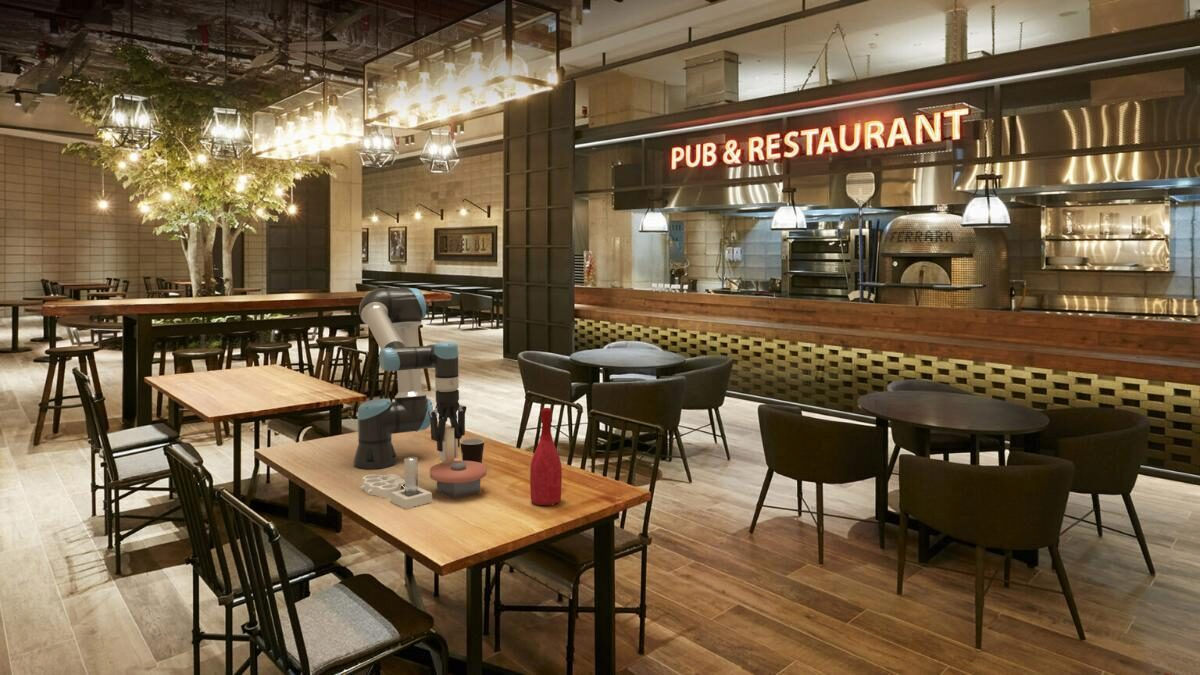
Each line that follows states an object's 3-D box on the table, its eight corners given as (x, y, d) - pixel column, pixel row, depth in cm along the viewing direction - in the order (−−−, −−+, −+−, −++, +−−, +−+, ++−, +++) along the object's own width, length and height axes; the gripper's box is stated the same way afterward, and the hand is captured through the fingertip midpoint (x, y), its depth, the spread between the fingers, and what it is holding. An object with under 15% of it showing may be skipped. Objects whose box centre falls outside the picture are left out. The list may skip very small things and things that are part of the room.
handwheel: (445, 486, 220) (445, 442, 219) (420, 472, 234) (419, 430, 232) (496, 476, 231) (496, 433, 230) (469, 463, 245) (469, 423, 244)
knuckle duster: (417, 492, 234) (374, 502, 224) (393, 479, 247) (351, 487, 237) (417, 482, 233) (374, 492, 224) (393, 470, 247) (351, 478, 237)
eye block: (391, 501, 223) (390, 492, 223) (416, 495, 230) (416, 486, 229) (406, 509, 217) (405, 499, 217) (431, 502, 223) (431, 493, 223)
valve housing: (436, 492, 233) (436, 475, 233) (462, 485, 240) (462, 468, 240) (454, 499, 226) (454, 482, 226) (480, 492, 233) (480, 475, 233)
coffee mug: (479, 472, 255) (479, 445, 254) (456, 470, 257) (456, 443, 256) (490, 463, 266) (490, 437, 265) (468, 462, 268) (468, 435, 267)
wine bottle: (549, 509, 219) (549, 412, 216) (523, 503, 224) (524, 408, 221) (567, 500, 227) (568, 407, 224) (542, 494, 232) (543, 403, 229)
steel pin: (402, 502, 223) (401, 458, 222) (413, 499, 226) (413, 455, 225) (409, 505, 221) (408, 460, 219) (420, 502, 223) (420, 458, 222)
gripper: (430, 394, 226) (432, 466, 229) (475, 387, 238) (476, 456, 241) (417, 391, 231) (419, 461, 234) (462, 384, 244) (464, 451, 246)
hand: (448, 458), depth 238 cm, fingers closed on handwheel, 4 cm apart
